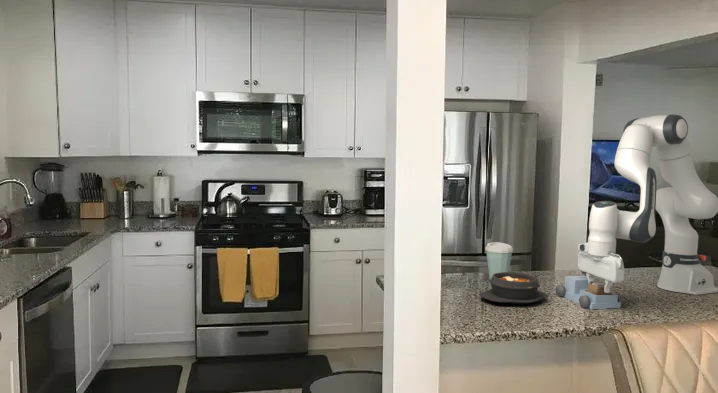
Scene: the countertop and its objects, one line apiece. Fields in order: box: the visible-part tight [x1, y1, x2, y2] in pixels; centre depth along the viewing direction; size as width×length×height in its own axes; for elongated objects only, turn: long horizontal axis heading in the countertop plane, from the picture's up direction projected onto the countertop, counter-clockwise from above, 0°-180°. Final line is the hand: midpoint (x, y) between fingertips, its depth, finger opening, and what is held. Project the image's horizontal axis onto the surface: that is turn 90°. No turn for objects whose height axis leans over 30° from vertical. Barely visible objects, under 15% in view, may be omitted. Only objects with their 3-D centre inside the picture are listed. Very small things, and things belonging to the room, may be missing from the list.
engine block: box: [587, 281, 611, 296], centre depth 196 cm, size 5×5×6 cm
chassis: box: [555, 275, 624, 310], centre depth 201 cm, size 20×14×7 cm
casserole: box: [478, 271, 549, 305], centre depth 200 cm, size 25×19×8 cm
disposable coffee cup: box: [484, 241, 514, 280], centre depth 225 cm, size 11×11×15 cm
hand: (598, 289), depth 196 cm, fingers open, 6 cm apart
